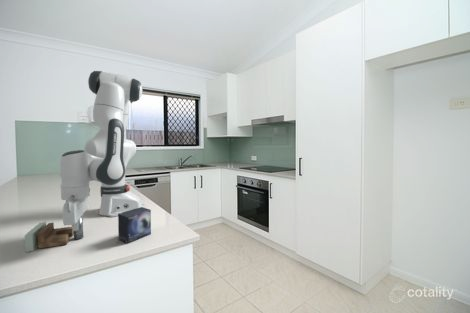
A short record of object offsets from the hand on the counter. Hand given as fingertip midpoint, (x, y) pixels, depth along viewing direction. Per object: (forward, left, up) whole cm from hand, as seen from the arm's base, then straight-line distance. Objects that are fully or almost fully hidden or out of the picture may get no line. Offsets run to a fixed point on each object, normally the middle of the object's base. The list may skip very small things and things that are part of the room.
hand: (77, 228), depth 85 cm
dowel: (0, 0, -4) cm, 4 cm away
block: (+6, 0, -4) cm, 8 cm away
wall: (+13, 0, -4) cm, 13 cm away
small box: (-20, +7, -4) cm, 22 cm away
